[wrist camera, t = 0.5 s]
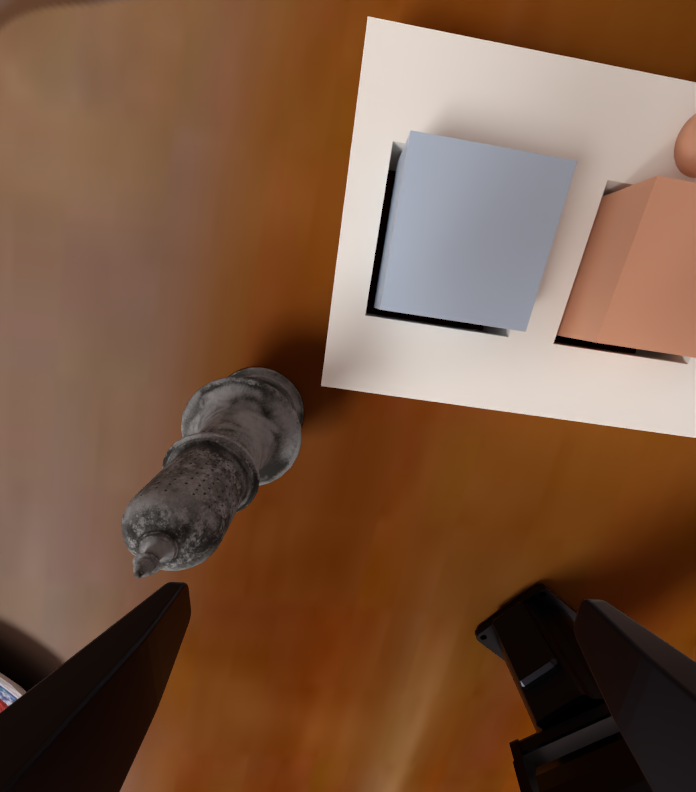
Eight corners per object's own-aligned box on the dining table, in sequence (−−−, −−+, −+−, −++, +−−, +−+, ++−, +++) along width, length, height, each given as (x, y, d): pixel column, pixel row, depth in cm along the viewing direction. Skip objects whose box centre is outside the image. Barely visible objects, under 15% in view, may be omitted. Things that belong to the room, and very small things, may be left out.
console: (920, 178, 16) (1076, 146, 13) (772, 435, 20) (860, 463, 17) (363, 71, 15) (369, 2, 11) (324, 372, 19) (320, 389, 15)
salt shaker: (225, 346, 18) (24, 431, 7) (323, 384, 19) (291, 520, 7) (198, 435, 20) (-3, 627, 8) (289, 467, 21) (220, 686, 9)
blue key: (530, 188, 14) (577, 161, 11) (493, 325, 16) (525, 331, 13) (396, 164, 14) (410, 130, 11) (373, 307, 16) (380, 309, 13)
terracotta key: (720, 221, 15) (810, 203, 12) (664, 351, 17) (731, 363, 14) (595, 199, 14) (657, 175, 12) (551, 334, 16) (595, 342, 13)
